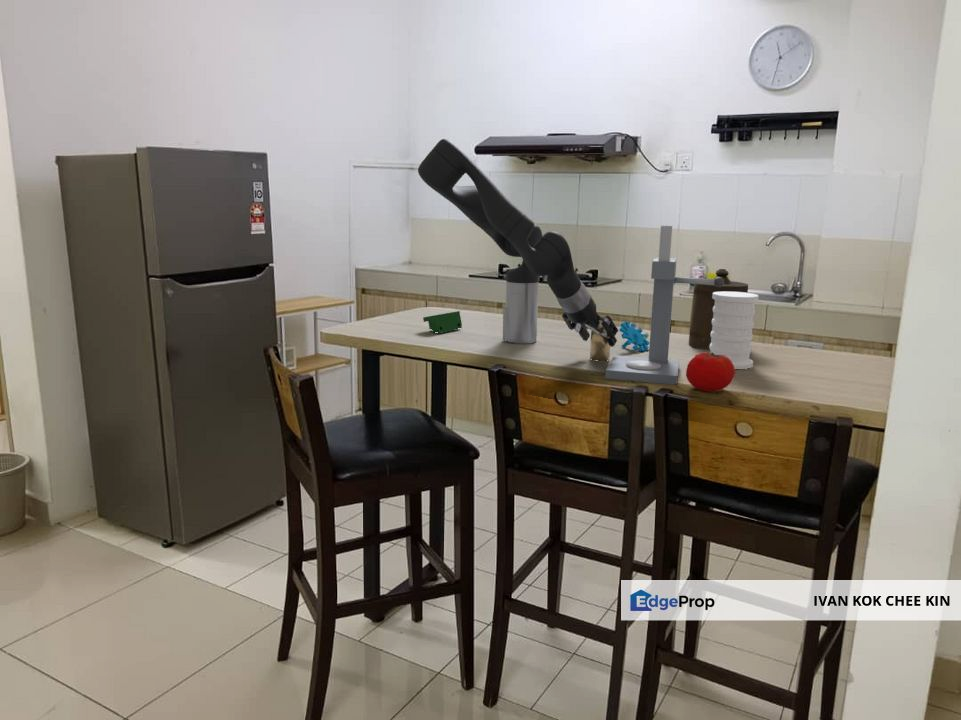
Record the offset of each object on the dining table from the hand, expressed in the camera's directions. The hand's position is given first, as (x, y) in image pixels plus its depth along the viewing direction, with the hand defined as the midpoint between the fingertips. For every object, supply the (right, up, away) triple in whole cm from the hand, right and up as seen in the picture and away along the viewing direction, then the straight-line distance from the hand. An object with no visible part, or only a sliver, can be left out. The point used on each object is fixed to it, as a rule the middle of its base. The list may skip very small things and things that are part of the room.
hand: (600, 341), depth 188 cm
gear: (+12, -2, +14) cm, 18 cm away
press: (+12, -8, -15) cm, 21 cm away
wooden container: (+36, -1, +21) cm, 42 cm away
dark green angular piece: (-43, +4, +36) cm, 56 cm away
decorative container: (+32, -6, -3) cm, 33 cm away
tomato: (+19, -12, -28) cm, 36 cm away
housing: (0, -5, +1) cm, 5 cm away
